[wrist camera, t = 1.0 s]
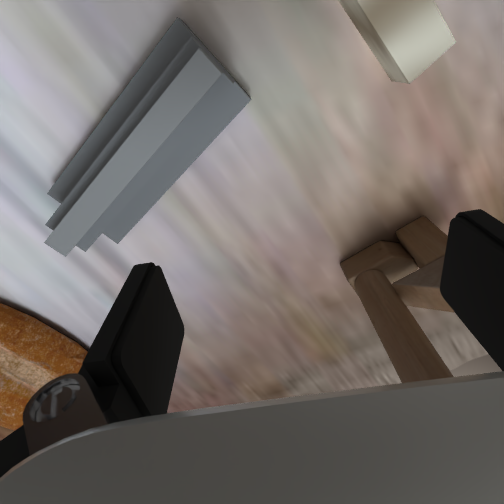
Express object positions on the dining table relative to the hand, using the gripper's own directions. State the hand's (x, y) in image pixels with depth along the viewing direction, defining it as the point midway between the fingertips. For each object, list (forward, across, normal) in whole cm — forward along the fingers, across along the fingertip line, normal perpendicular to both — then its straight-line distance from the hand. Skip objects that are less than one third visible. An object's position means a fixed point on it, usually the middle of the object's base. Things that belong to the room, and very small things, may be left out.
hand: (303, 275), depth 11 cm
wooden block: (+24, -12, +16) cm, 31 cm away
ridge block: (+24, +12, -1) cm, 26 cm away
